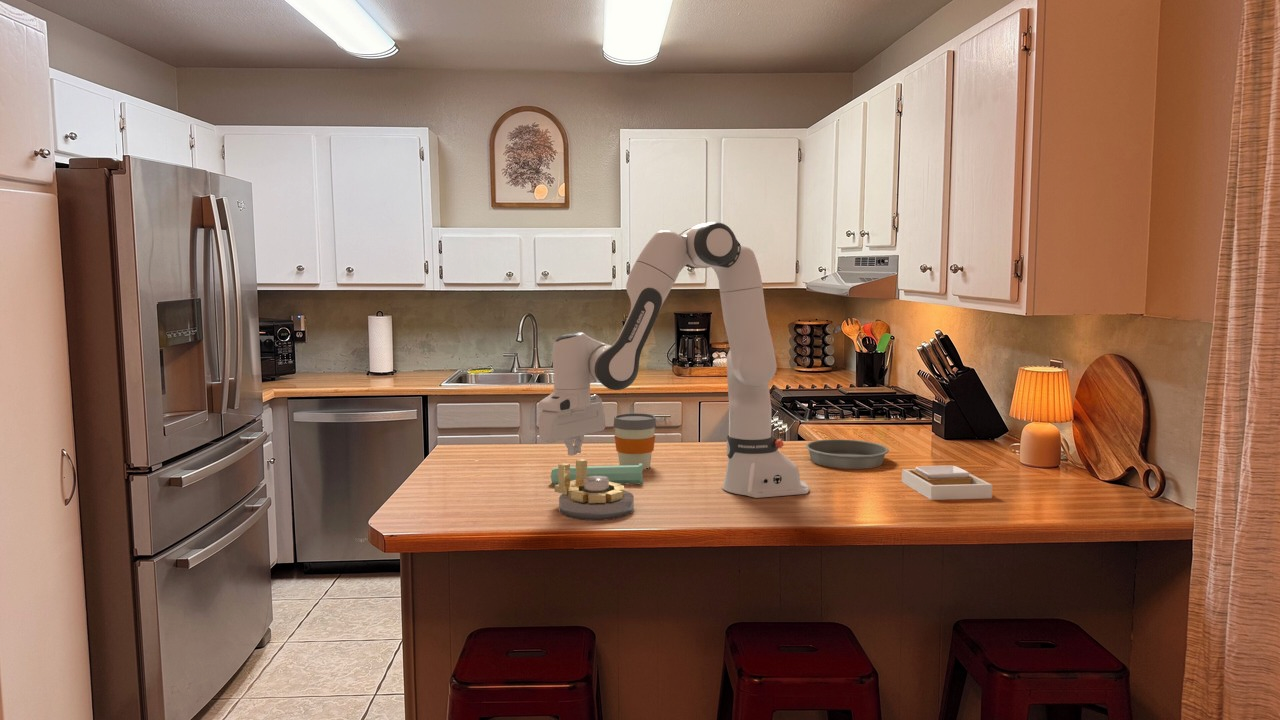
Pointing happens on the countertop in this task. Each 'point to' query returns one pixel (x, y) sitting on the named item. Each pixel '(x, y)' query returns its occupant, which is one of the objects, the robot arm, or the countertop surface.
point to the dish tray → (948, 488)
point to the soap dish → (943, 475)
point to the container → (607, 473)
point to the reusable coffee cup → (634, 438)
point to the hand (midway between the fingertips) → (574, 454)
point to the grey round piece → (596, 509)
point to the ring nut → (577, 486)
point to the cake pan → (846, 453)
